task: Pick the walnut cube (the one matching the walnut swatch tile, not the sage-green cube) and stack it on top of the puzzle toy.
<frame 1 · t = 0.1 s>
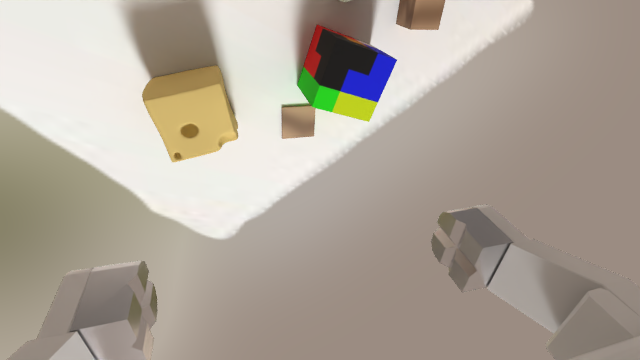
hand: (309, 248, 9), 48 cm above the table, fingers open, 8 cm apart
walnut block: (412, 7, 54), on the table
puzzle toy: (333, 64, 56), on the table
cheese: (195, 99, 53), on the table
swatch tile: (298, 121, 60), on the table
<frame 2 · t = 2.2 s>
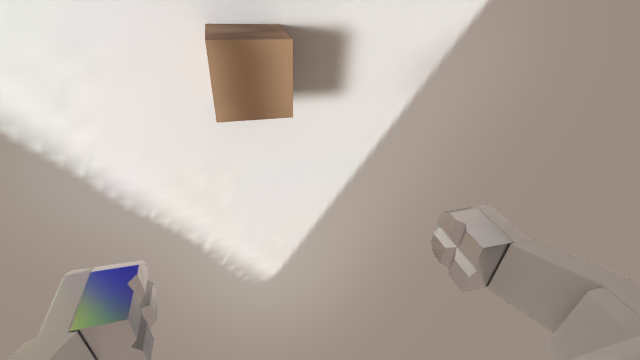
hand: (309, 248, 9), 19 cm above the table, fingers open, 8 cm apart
walnut block: (245, 60, 24), on the table
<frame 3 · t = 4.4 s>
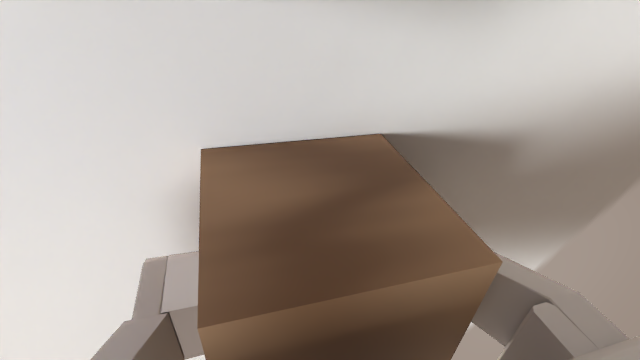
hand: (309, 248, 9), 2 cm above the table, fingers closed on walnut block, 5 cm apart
walnut block: (296, 211, 10), on the table, touching gripper
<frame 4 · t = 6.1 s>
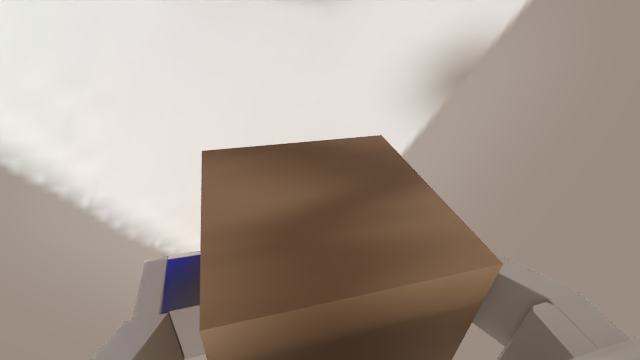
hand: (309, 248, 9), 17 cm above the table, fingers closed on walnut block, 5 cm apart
walnut block: (296, 212, 10), point 15 cm above the table, touching gripper
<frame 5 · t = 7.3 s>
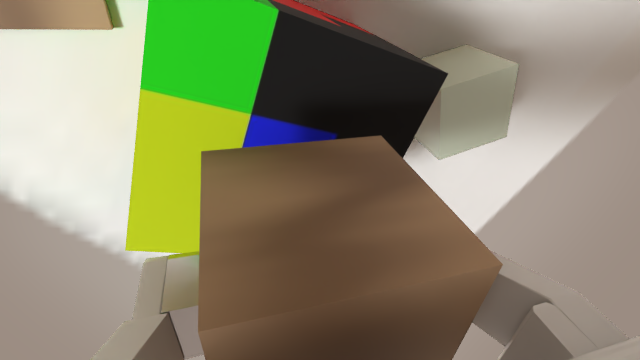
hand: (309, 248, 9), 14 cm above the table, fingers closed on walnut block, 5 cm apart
sage block: (432, 88, 24), on the table
walnut block: (296, 213, 10), point 13 cm above the table, touching gripper
puzzle toy: (254, 79, 21), on the table
when the fingers open (13 cm above the table, at t = 7.9 s): walnut block drops 1 cm, resting on puzzle toy.
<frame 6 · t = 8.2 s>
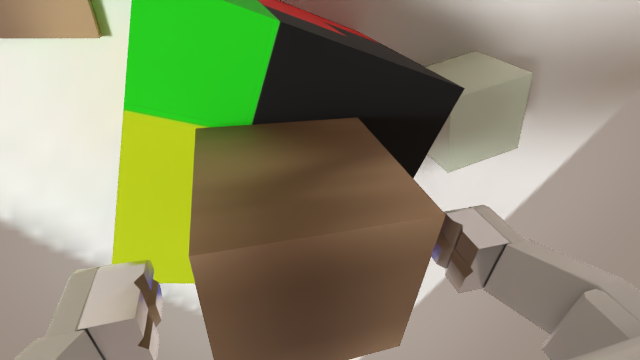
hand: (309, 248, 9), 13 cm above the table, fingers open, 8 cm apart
sage block: (439, 96, 23), on the table
walnut block: (282, 188, 11), point 10 cm above the table, touching puzzle toy
puzzle toy: (251, 89, 19), on the table, touching walnut block
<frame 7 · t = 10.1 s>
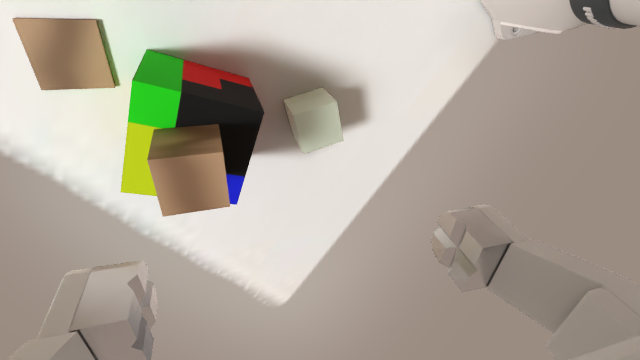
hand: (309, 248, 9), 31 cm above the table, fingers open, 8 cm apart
sage block: (307, 111, 41), on the table
walnut block: (192, 153, 28), point 10 cm above the table, touching puzzle toy
puzzle toy: (192, 108, 36), on the table, touching walnut block
swatch tile: (69, 55, 30), on the table
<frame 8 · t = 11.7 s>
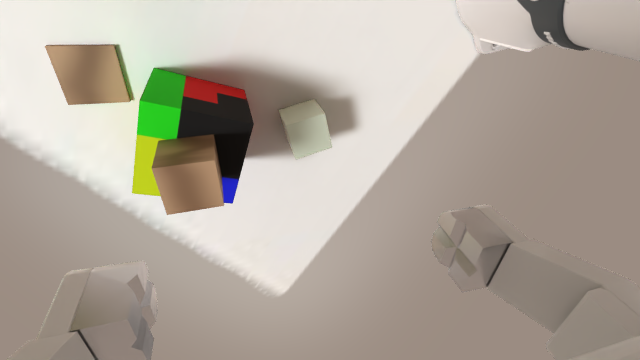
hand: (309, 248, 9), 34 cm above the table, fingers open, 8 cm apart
sage block: (300, 120, 45), on the table
walnut block: (192, 159, 33), point 10 cm above the table, touching puzzle toy
puzzle toy: (194, 117, 41), on the table, touching walnut block
swatch tile: (91, 74, 35), on the table
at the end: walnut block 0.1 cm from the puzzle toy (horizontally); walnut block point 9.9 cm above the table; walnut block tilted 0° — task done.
